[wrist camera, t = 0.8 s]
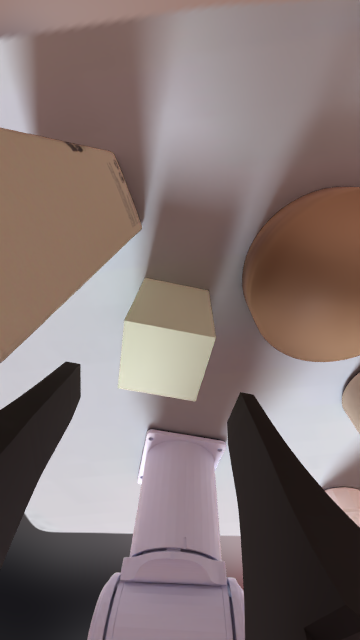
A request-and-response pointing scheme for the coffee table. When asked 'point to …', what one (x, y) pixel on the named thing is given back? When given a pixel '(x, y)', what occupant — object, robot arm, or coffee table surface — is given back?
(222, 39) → the coffee table surface
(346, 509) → the white cup
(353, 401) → the travel mug
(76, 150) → the box
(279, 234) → the coaster stand
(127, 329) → the block
